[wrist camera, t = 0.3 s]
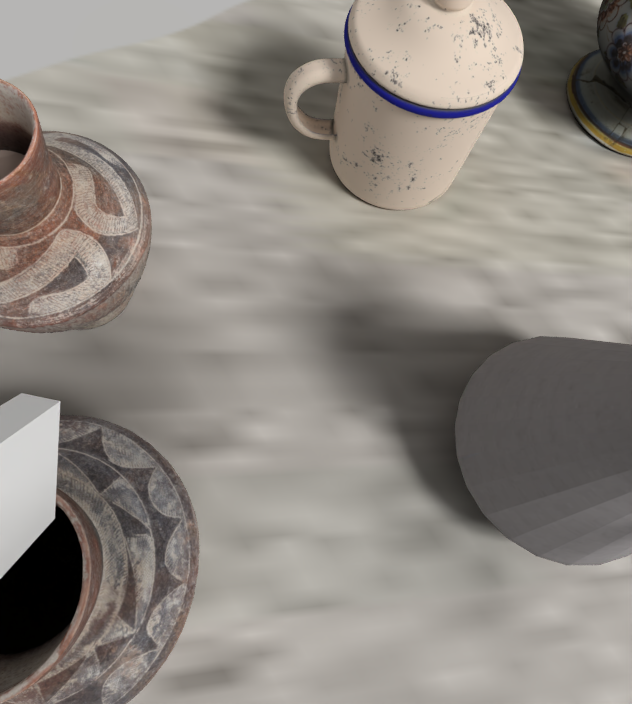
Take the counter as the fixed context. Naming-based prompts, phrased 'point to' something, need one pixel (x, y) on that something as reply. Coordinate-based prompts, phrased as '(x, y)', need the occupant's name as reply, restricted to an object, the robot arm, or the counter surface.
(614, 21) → the apothecary jar
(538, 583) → the counter surface
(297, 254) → the counter surface
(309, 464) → the counter surface
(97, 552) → the pottery
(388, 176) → the teacup with lid
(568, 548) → the coffee pot
